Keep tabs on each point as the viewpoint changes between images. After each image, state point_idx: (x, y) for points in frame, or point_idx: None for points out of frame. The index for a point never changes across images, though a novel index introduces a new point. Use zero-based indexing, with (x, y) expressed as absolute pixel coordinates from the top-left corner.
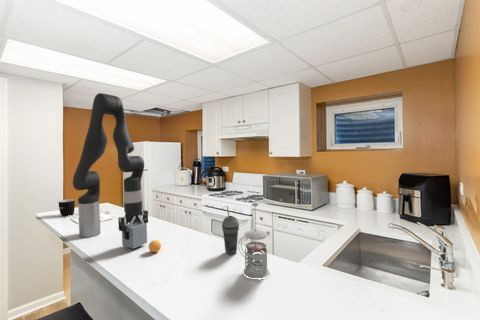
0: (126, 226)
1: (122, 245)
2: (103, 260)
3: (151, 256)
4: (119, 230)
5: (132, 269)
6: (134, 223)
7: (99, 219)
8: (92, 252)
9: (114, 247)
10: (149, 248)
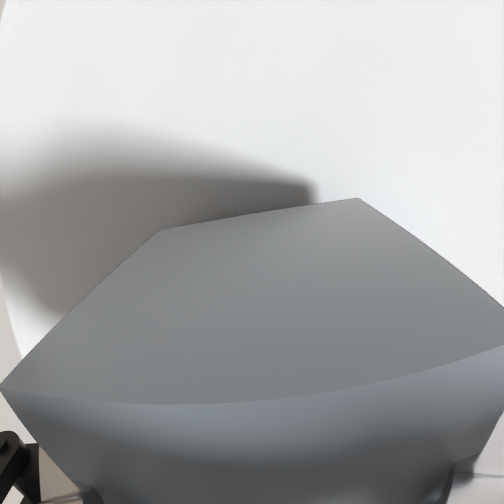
0: (87, 501)
1: (160, 231)
2: (23, 309)
3: None
4: (2, 444)
5: None
6: (363, 474)
7: None
8: (3, 98)
9: (133, 118)
10: None
